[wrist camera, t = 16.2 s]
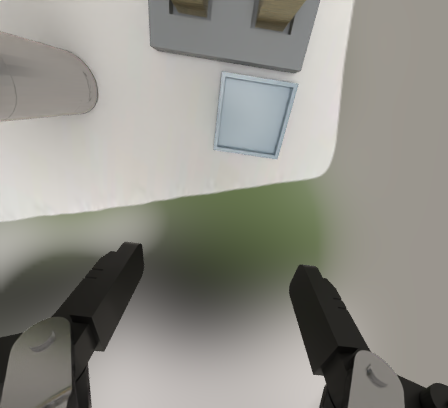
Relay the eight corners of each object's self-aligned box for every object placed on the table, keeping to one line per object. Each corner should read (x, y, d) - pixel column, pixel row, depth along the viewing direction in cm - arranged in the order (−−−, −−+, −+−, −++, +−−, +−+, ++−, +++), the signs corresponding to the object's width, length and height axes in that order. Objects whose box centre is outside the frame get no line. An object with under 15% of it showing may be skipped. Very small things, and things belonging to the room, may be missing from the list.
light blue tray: (214, 147, 36) (213, 149, 35) (222, 72, 31) (222, 71, 29) (275, 156, 37) (277, 159, 35) (294, 84, 31) (298, 83, 29)
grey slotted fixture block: (157, 50, 29) (150, 45, 27) (153, -83, 23) (143, -107, 20) (294, 73, 30) (300, 70, 28) (327, -50, 24) (339, -68, 21)
